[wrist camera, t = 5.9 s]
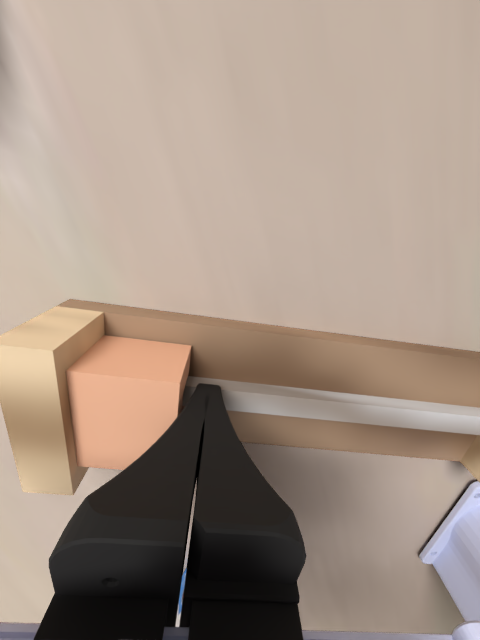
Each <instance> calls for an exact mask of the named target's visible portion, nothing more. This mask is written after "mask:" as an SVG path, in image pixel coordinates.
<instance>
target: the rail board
mask: <svg viewBox="0 0 480 640" xmlns="http://www.w3.org/2000/svg"><path fill="white" fill-rule="evenodd" d="M103 335H107V336H116V337H124V338H132V339H141V340H149V341H158V342H166V343H174V344H183V345H191V356H190V367H189V374H188V378H187V381H186V385H185V389H184V393H183V403H182V406H186V404H187V403H188V401H189V400H190V398H191V396H192V395H193V393H194V391H195V389H196V386H197V385H198V384H199V383H203V384H213V385H219V386H220V387H221V393H222V397H223V401H224V404H225V407H226V410H227V413H228V416H229V418H230V421H231V423H232V425H233V428H234V430H235V432H236V434H237V436H238V438H239V440H240V442H247V443H258V444H269V445H280V446H292V447H303V448H314V449H326V450H337V451H348V452H360V453H371V454H382V455H393V456H405V457H416V458H427V459H439V460H450V461H460V462H461V463H462V464H463V465H464V466H465V467H466V468H467V469H468V470H469V472H470V473H471V474H472V475H473V476H474V477H475V478H476V479H477V480H478V481H479V482H480V352H475V351H467V350H459V349H451V348H444V347H436V346H428V345H421V344H413V343H405V342H397V341H390V340H382V339H374V338H366V337H359V336H351V335H343V334H336V333H328V332H320V331H312V330H305V329H297V328H289V327H281V326H274V325H266V324H258V323H251V322H243V321H235V320H227V319H220V318H212V317H204V316H197V315H189V314H181V313H173V312H166V311H158V310H150V309H142V308H135V307H127V306H119V305H112V304H104V303H96V302H88V301H81V300H73V299H69V300H67V301H65V302H63V303H61V304H60V305H58V306H56V307H54V308H52V309H50V310H48V311H46V312H44V313H42V314H40V315H38V316H37V317H35V318H33V319H31V320H29V321H27V322H25V323H23V324H21V325H19V326H17V327H16V328H14V329H12V330H10V331H8V332H6V333H4V334H2V335H0V403H1V407H2V411H3V415H4V419H5V423H6V427H7V431H8V435H9V439H10V443H11V447H12V451H13V455H14V459H15V463H16V467H17V471H18V475H19V479H20V483H21V487H22V491H23V492H31V493H46V494H61V495H74V493H75V491H76V489H77V488H78V486H79V484H80V482H81V481H82V479H83V477H84V475H85V473H86V472H87V470H88V468H89V467H81V466H77V458H76V450H75V442H74V434H73V426H72V418H71V410H70V402H69V394H68V385H67V377H66V370H67V369H68V368H69V367H70V366H71V365H73V364H74V363H75V362H76V361H77V360H78V359H79V358H80V357H81V356H82V355H83V354H84V353H85V352H86V351H87V350H88V349H90V348H91V347H92V346H93V345H94V344H95V343H96V342H97V341H98V340H99V339H100V338H101V337H102V336H103Z"/></svg>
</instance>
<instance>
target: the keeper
mask: <svg viewBox="0 0 480 640" xmlns="http://www.w3.org/2000/svg"><path fill="white" fill-rule="evenodd" d="M190 356H191V345H183V344H174V343H166V342H158V341H149V340H141V339H132V338H124V337H116V336H107V335H103V336H102V337H101V338H100V339H99V340H98V341H97V342H96V343H95V344H94V345H93V346H92V347H91V348H90V349H88V350H87V351H86V352H85V353H84V354H83V355H82V356H81V357H80V358H79V359H78V360H77V361H76V362H75V363H74V364H73V365H71V366H70V367H69V368H68V369H67V370H66V377H67V385H68V394H69V402H70V410H71V418H72V426H73V434H74V442H75V450H76V458H77V466H81V467H94V468H107V469H121V470H124V469H126V468H127V467H128V466H129V465H130V464H132V463H133V462H134V461H135V460H137V459H138V458H139V457H140V456H141V455H142V454H143V453H145V452H146V451H147V450H148V449H149V448H150V447H151V446H152V445H153V444H154V443H155V442H156V441H157V440H158V439H159V438H160V437H161V436H162V435H163V434H164V432H165V431H166V430H167V429H168V428H169V427H170V426H171V424H172V423H173V422H174V421H175V419H176V418H177V417H178V415H179V414H180V413H181V411H182V410H183V409H184V407H185V406H182V403H183V393H184V389H185V385H186V381H187V378H188V374H189V367H190Z"/></svg>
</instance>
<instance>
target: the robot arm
mask: <svg viewBox="0 0 480 640" xmlns="http://www.w3.org/2000/svg"><path fill="white" fill-rule="evenodd" d="M196 479H197V489H196V500H195V507H194V515H193V523H192V531H191V539H190V547H189V554H188V562H187V570H186V578H185V585H184V593H183V601H182V609H181V617H180V624H179V627H175V626H176V619H177V611H178V604H179V596H180V589H181V582H182V574H183V567H184V560H185V552H186V545H187V537H188V530H189V523H190V515H191V508H192V501H193V494H194V489H195V484H196ZM419 557H420V559H421V561H422V562H423V563H425V564H433V566H434V567H435V569H436V571H437V573H438V574H439V576H440V578H441V580H442V581H443V583H444V585H445V587H446V588H447V590H448V592H449V594H450V595H451V597H452V599H453V601H454V602H455V604H456V606H457V607H458V609H459V611H460V613H461V614H462V616H463V618H464V620H465V621H466V622H463V623H461V624H459V625H458V626H457V627H455V629H454V630H453V632H452V634H420V633H383V632H345V631H307V630H302V628H301V622H300V617H299V611H298V605H297V604H298V603H299V592H298V586H297V579H298V577H299V575H300V572H301V570H302V568H303V566H304V563H305V559H306V553H305V547H304V542H303V539H302V535H301V532H300V529H299V526H298V523H297V521H296V518H295V516H294V513H293V511H292V510H291V509H290V507H289V506H288V505H287V504H286V503H285V502H284V501H283V500H282V499H281V498H280V497H279V496H278V494H277V493H276V492H275V491H274V490H273V488H272V487H271V486H270V485H269V484H268V482H267V481H266V480H265V478H264V477H263V476H262V474H261V473H260V472H259V470H258V469H257V467H256V466H255V465H254V463H253V462H252V460H251V459H250V457H249V455H248V454H247V452H246V451H245V449H244V447H243V445H242V444H241V442H240V440H239V438H238V436H237V434H236V432H235V430H234V428H233V425H232V423H231V421H230V418H229V416H228V413H227V410H226V407H225V404H224V401H223V397H222V393H221V387H220V386H219V385H213V384H203V383H199V384H198V385H197V386H196V389H195V391H194V393H193V395H192V396H191V398H190V400H189V401H188V403H187V404H186V406H185V407H184V409H183V410H182V411H181V413H180V414H179V415H178V417H177V418H176V419H175V421H174V422H173V423H172V424H171V426H170V427H169V428H168V429H167V430H166V431H165V432H164V434H163V435H162V436H161V437H160V438H159V439H158V440H157V441H156V442H155V443H154V444H153V445H152V446H151V447H150V448H149V449H148V450H147V451H146V452H145V453H143V454H142V455H141V456H140V457H139V458H138V459H137V460H135V461H134V462H133V463H132V464H130V465H129V466H128V467H127V468H126V469H124V470H123V471H122V472H121V473H119V474H118V475H117V476H115V477H114V478H113V479H111V480H110V481H109V482H107V483H106V484H104V485H103V486H101V487H100V488H99V489H97V490H96V491H94V492H93V493H91V494H90V495H88V496H87V497H86V498H85V500H84V501H83V502H82V504H81V505H80V506H79V508H78V509H77V511H76V512H75V514H74V515H73V517H72V518H71V520H70V521H69V523H68V524H67V526H66V528H65V529H64V531H63V533H62V535H61V537H60V539H59V541H58V543H57V545H56V547H55V548H54V550H53V552H52V554H51V556H50V558H49V569H50V574H51V578H52V582H53V587H54V591H55V594H54V596H53V598H52V600H51V603H50V605H49V607H48V609H47V611H46V613H45V615H44V618H43V620H42V622H41V623H6V622H0V640H480V482H479V481H476V482H473V483H472V484H471V485H470V486H469V487H468V489H467V490H466V491H465V493H464V494H463V496H462V497H461V498H460V500H459V501H458V502H457V504H456V505H455V507H454V508H453V509H452V511H451V512H450V513H449V515H448V516H447V518H446V519H445V520H444V522H443V523H442V525H441V526H440V527H439V529H438V530H437V531H436V533H435V534H434V536H433V537H432V538H431V540H430V541H429V542H428V544H427V545H426V547H425V548H424V549H423V551H422V552H421V553H420V555H419Z"/></svg>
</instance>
